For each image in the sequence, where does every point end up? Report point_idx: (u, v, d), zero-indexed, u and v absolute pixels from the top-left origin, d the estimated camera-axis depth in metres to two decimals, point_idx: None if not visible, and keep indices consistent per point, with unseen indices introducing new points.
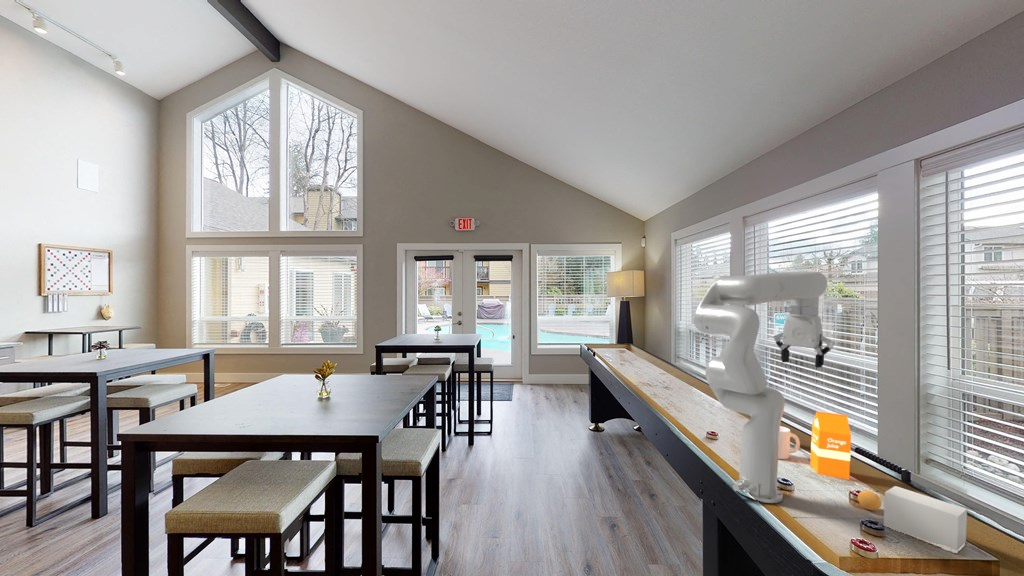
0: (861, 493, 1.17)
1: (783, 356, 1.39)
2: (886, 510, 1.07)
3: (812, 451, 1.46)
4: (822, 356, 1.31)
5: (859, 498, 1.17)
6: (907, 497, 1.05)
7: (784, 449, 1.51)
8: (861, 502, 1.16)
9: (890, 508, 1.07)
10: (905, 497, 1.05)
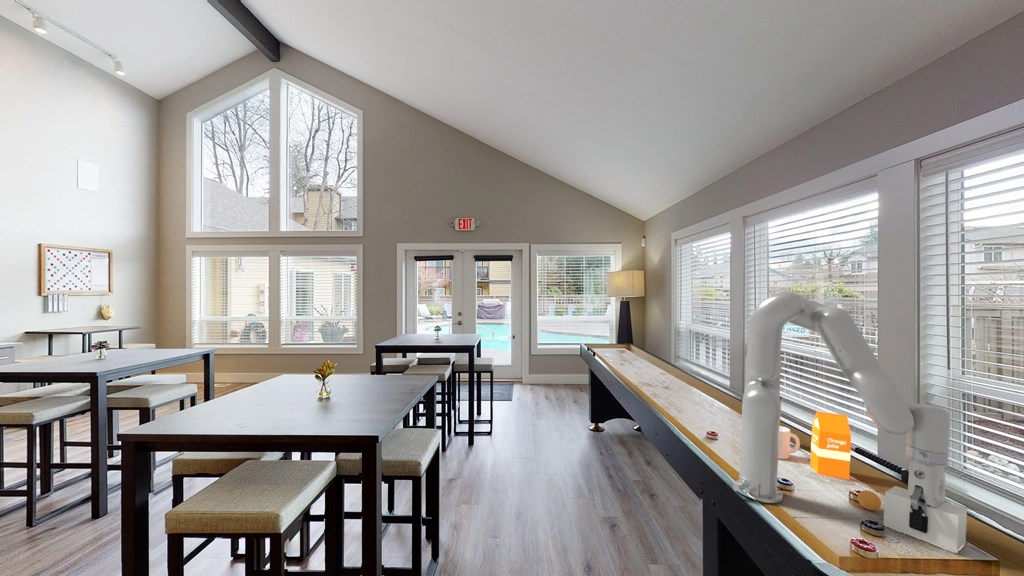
0: (861, 493, 1.17)
1: (927, 525, 1.01)
2: (886, 510, 1.07)
3: (812, 451, 1.46)
4: None
5: (859, 498, 1.17)
6: (907, 497, 1.05)
7: (784, 449, 1.51)
8: (861, 502, 1.16)
9: (890, 508, 1.07)
10: (905, 497, 1.05)
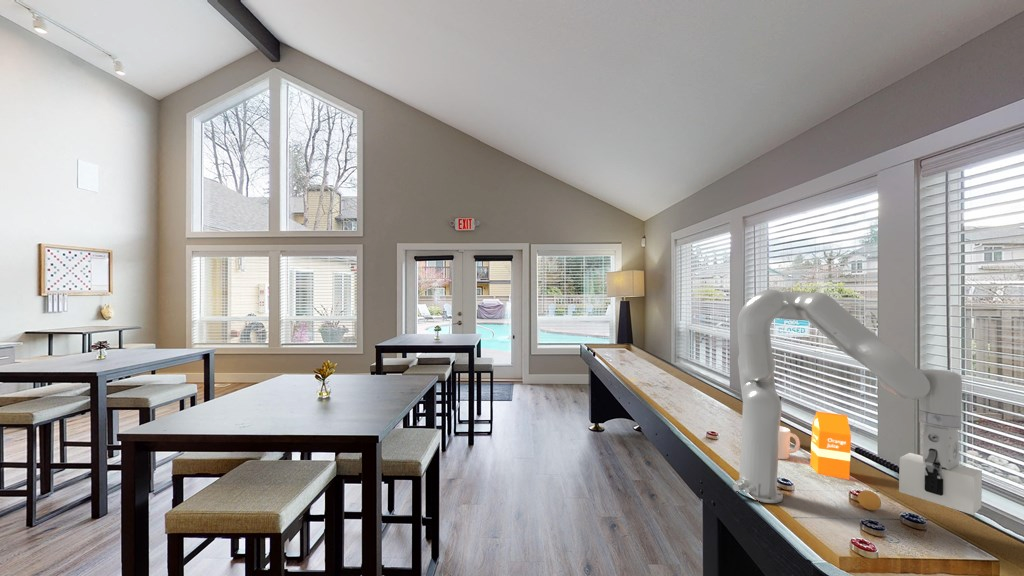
0: (861, 493, 1.17)
1: (942, 487, 1.02)
2: (902, 475, 1.08)
3: (812, 451, 1.46)
4: None
5: (859, 498, 1.17)
6: (922, 462, 1.06)
7: (784, 449, 1.51)
8: (861, 502, 1.16)
9: (905, 473, 1.08)
10: (920, 462, 1.06)
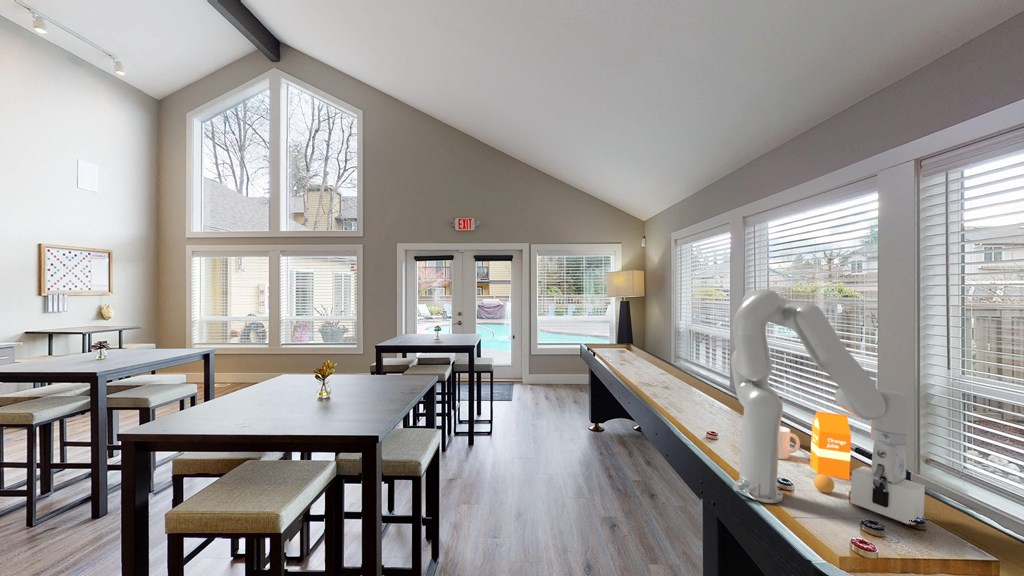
0: (829, 485, 1.24)
1: (888, 500, 1.10)
2: (853, 487, 1.17)
3: (812, 451, 1.46)
4: None
5: (824, 481, 1.25)
6: (871, 475, 1.15)
7: (784, 449, 1.51)
8: (819, 480, 1.25)
9: (856, 486, 1.16)
10: (870, 475, 1.15)
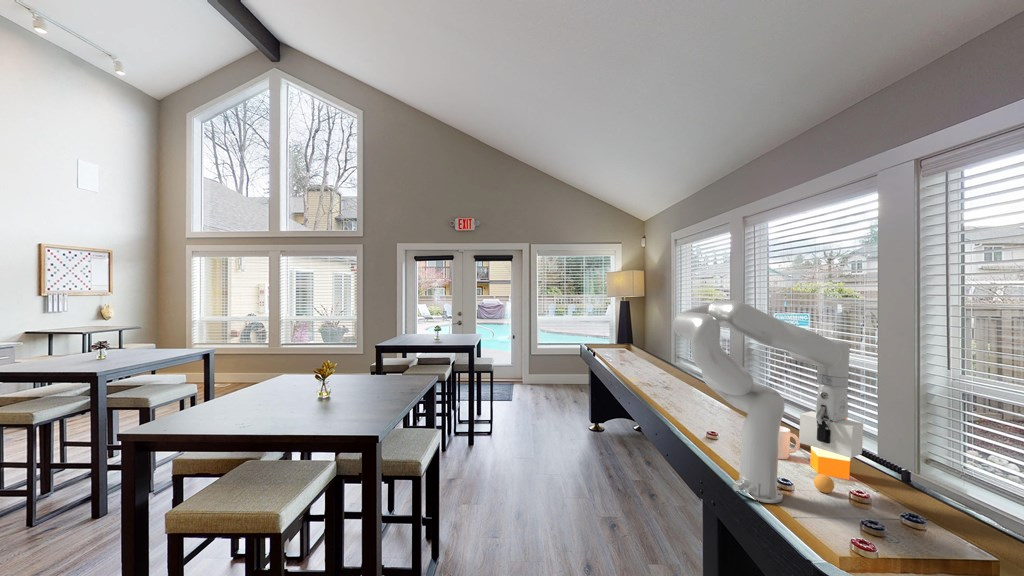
0: (829, 485, 1.24)
1: None
2: (801, 429, 1.28)
3: (812, 451, 1.46)
4: None
5: (824, 481, 1.25)
6: None
7: (784, 449, 1.51)
8: (819, 480, 1.25)
9: (804, 427, 1.28)
10: (815, 416, 1.26)
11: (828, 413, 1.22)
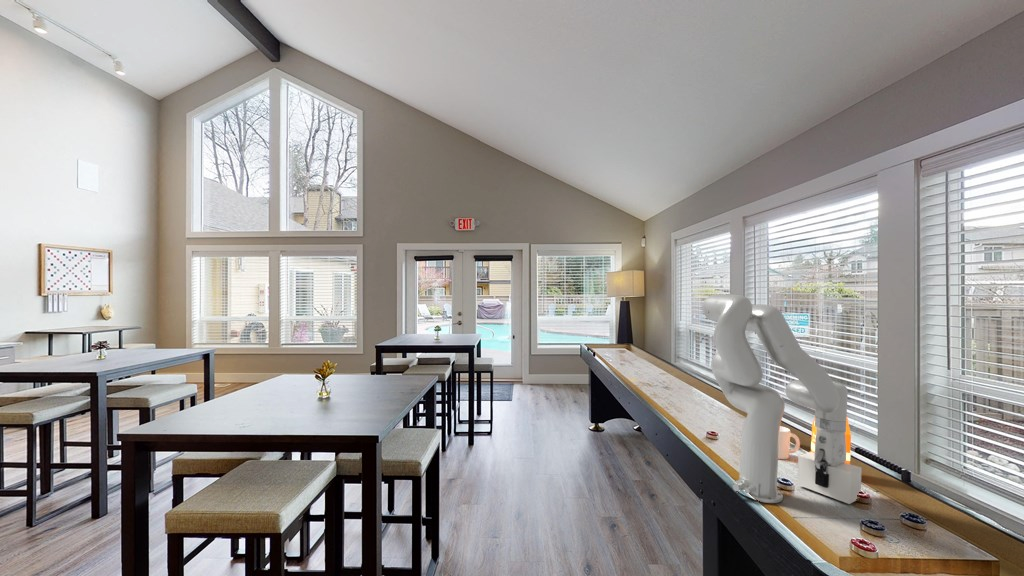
0: None
1: (828, 481, 1.22)
2: (799, 471, 1.28)
3: (812, 451, 1.46)
4: None
5: None
6: None
7: (784, 449, 1.51)
8: None
9: (802, 469, 1.28)
10: (813, 459, 1.26)
11: (826, 457, 1.21)
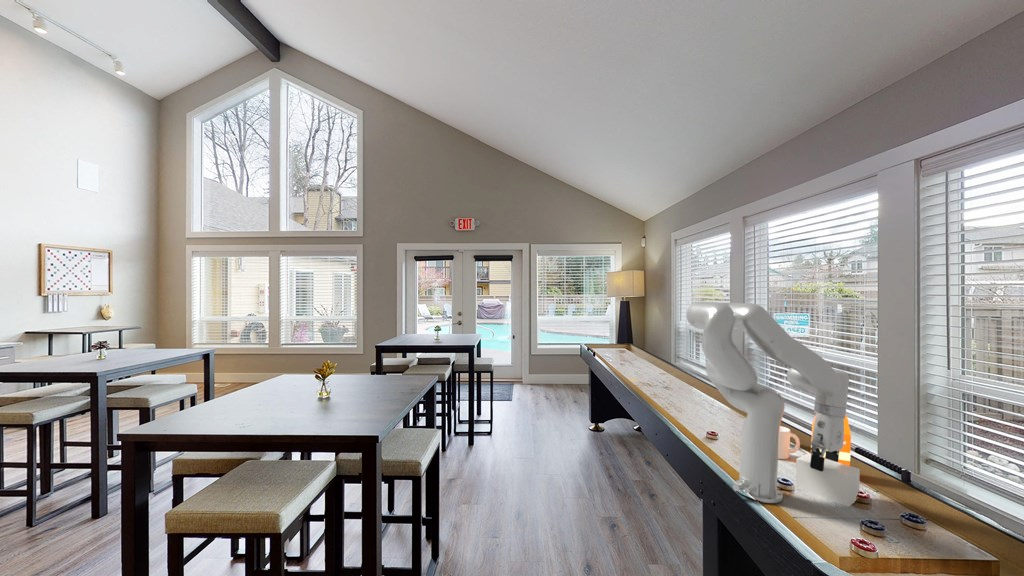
0: None
1: (823, 465, 1.21)
2: (798, 474, 1.28)
3: None
4: None
5: None
6: None
7: (784, 449, 1.51)
8: None
9: (800, 472, 1.27)
10: None
11: (824, 442, 1.21)
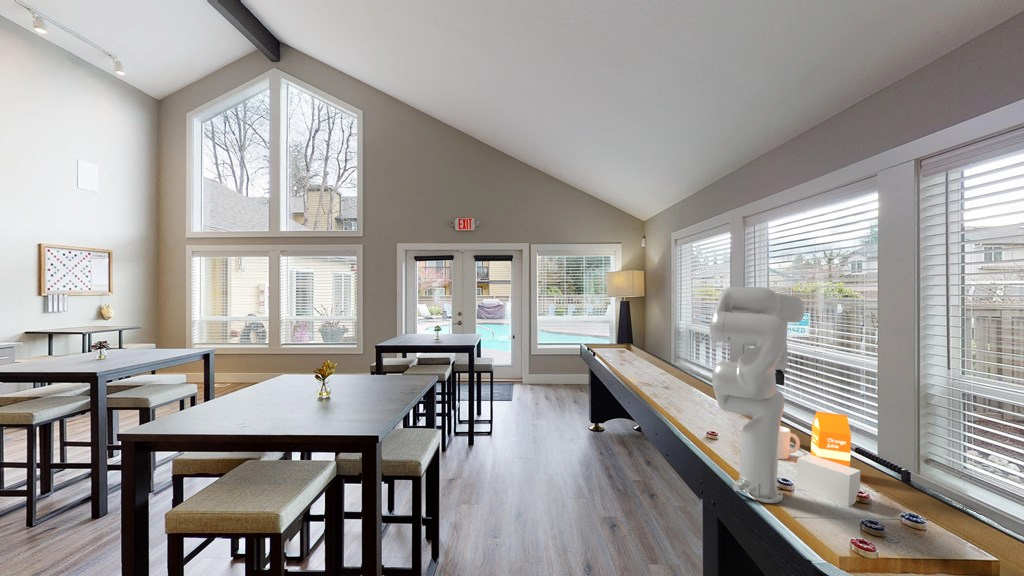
0: None
1: None
2: (798, 473, 1.28)
3: (812, 451, 1.46)
4: None
5: None
6: (814, 462, 1.26)
7: (784, 449, 1.51)
8: None
9: (801, 471, 1.28)
10: (812, 462, 1.26)
11: None
